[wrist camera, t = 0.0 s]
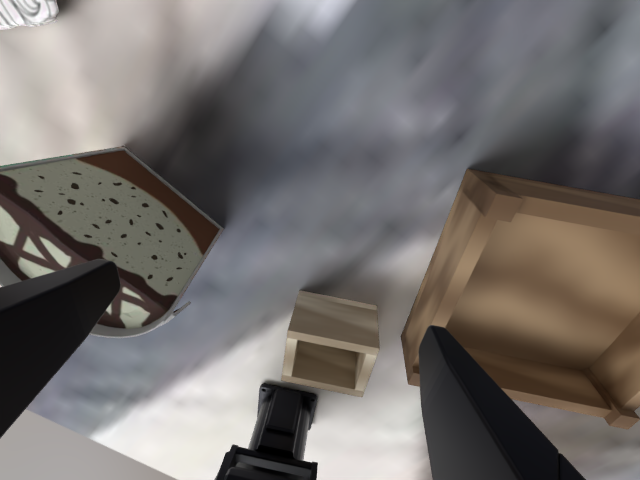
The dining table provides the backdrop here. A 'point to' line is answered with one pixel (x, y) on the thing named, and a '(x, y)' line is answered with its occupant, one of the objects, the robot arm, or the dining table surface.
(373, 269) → the dining table surface
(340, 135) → the dining table surface
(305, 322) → the pale crate
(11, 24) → the cookie jar
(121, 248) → the food container
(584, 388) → the crate
